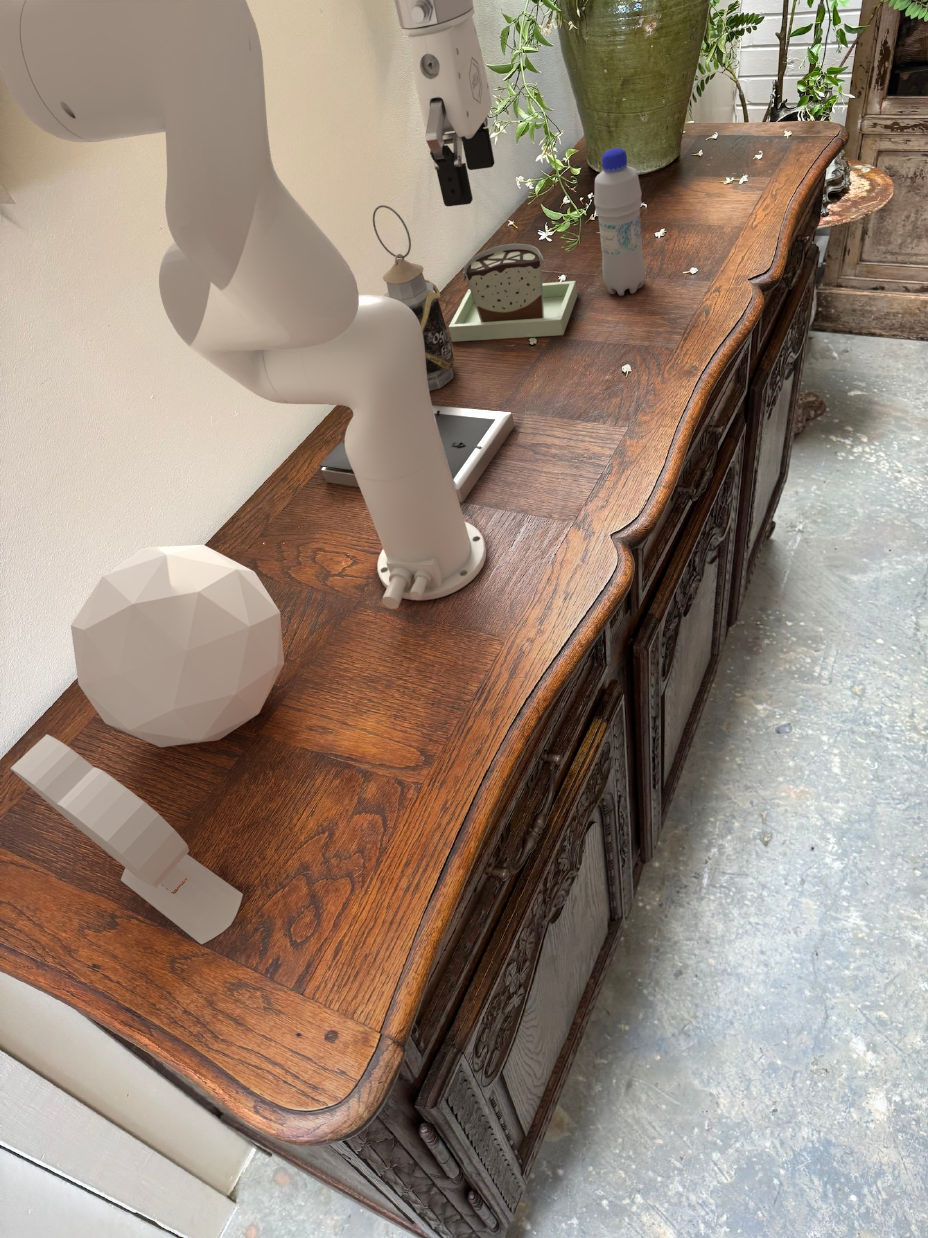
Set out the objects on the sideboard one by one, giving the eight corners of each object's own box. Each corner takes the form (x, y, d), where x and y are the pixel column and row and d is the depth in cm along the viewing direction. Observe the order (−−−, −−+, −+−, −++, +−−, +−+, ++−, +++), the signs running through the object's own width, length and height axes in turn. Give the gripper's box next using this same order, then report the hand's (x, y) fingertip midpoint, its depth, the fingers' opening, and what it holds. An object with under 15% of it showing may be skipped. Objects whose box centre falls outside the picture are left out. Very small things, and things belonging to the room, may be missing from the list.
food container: (554, 299, 130) (545, 235, 123) (553, 319, 126) (544, 254, 119) (477, 312, 133) (464, 250, 126) (474, 331, 129) (460, 268, 122)
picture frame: (326, 482, 111) (462, 502, 102) (319, 465, 109) (457, 484, 100) (384, 413, 120) (514, 426, 110) (378, 396, 118) (511, 407, 108)
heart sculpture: (258, 905, 71) (157, 794, 58) (216, 957, 68) (102, 853, 56) (148, 826, 79) (38, 714, 66) (107, 870, 77) (-14, 762, 64)
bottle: (594, 289, 131) (580, 153, 116) (631, 273, 132) (621, 135, 117) (618, 304, 126) (605, 163, 112) (655, 287, 127) (648, 146, 113)
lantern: (471, 371, 122) (429, 195, 104) (433, 400, 119) (383, 223, 101) (430, 358, 127) (383, 188, 109) (392, 386, 124) (338, 215, 106)
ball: (294, 725, 93) (347, 638, 77) (117, 810, 81) (139, 728, 65) (210, 589, 97) (245, 481, 82) (31, 651, 85) (32, 538, 70)
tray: (563, 335, 123) (561, 319, 122) (451, 341, 129) (448, 326, 128) (577, 295, 131) (575, 280, 129) (471, 303, 137) (468, 289, 135)
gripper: (445, 24, 76) (482, 215, 88) (492, -26, 87) (519, 150, 99) (370, 39, 78) (417, 223, 91) (424, -12, 89) (459, 159, 101)
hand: (470, 185), depth 95 cm, fingers open, 9 cm apart
